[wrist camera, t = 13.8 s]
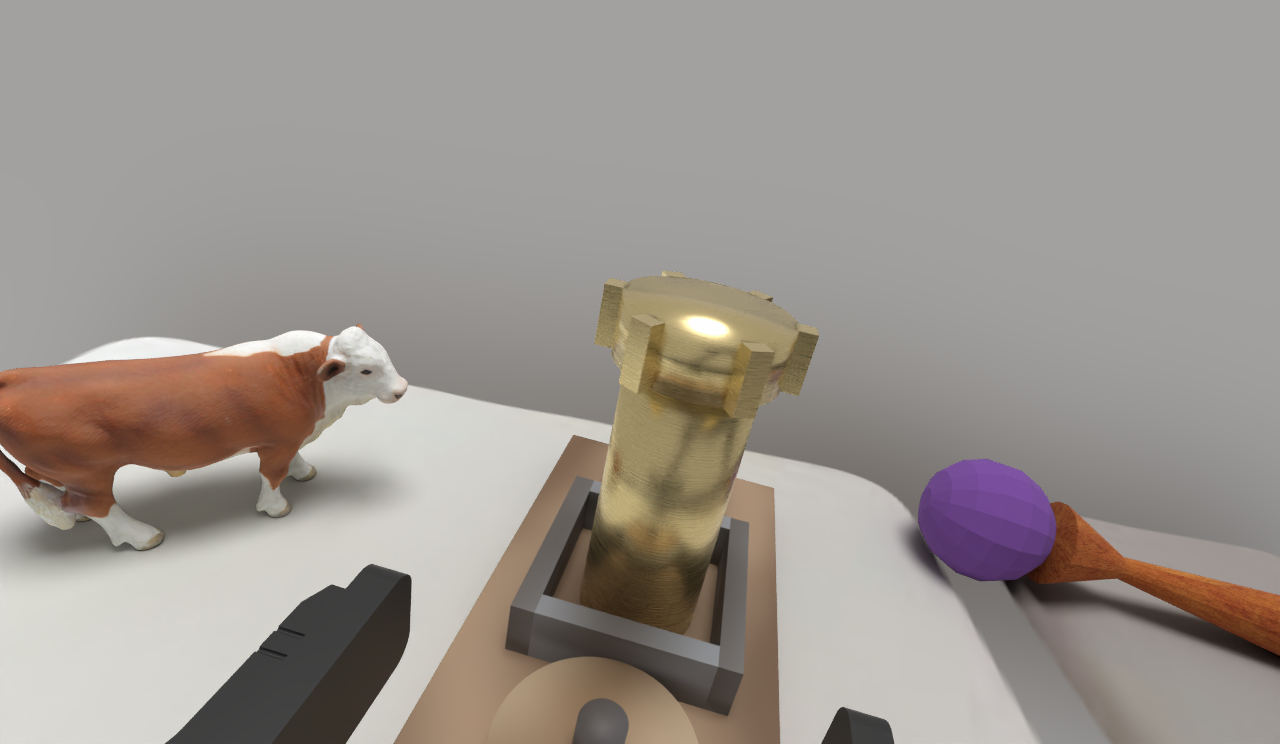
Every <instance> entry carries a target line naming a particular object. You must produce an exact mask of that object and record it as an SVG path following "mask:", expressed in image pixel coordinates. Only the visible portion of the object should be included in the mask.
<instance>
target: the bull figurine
mask: <svg viewBox="0 0 1280 744" xmlns="http://www.w3.org/2000/svg"><path fill="white" fill-rule="evenodd" d="M407 386H408V383H407V381H406V380H405V379H404V378H402V377H400V376H399V375H398V373H397V372H396V370H395V369H394V367H393V365H392V363H391V361H390V358H389V357H388V354H387V352H386V351H385V349H384V348H383V347H382V346H381V345H380V344H379V343H378V342H376V341H375V340H373V339H372V338H371V337H369V336H368V335H367V334H366V333H365V332H364V329H363V327H362V325H361V324H357V326H356V327H350V328H348V329H346V330H344V331H342V332H341V334H340V335H338V336H326V335H322V334H320V333H316V332H311V331H291V332H287V333H285V334H282V335H280V336H277V337H275V338H272V339H269V340H262V341H252V342H246V343H240V344H237V345H234V346H231V347H227V348H223V349H219V350H215V351H210V352H204V353H198V354H190V355H182V356H173V357H163V358H151V359H133V360H106V361H97V362H87V363H76V364H65V365H56V366H47V367H32V368H16V369H12V370H6V371H2V372H0V444H1V445H2V446H3V447H4V449H5V450H6V451H8V452H9V453H10V454H11V455H12V456H13V457H14V458H15V459H16V460H18V461H19V462H20V463H22V464H23V465H25V466H26V468H25V473H26V474H25V473H23V472H22V471H21V470H20V469H19V468H18V466H17V465H16V464H15V463H14V462H12V461H11V460H10V459H8V458H7V457H6V456H5V455H4V454H3V453H2V451H1V450H0V469H1V470H2V471H3V472H4V473H5V474H7V475H8V476H9V477H10V478H11V480H12V481H13V482H14V483H15V484H16V486H17V487H18V489H19V491H20V492H21V494H22V496H23V498H24V499H25V501H26V502H27V503H28V505H29V506H30V507H31V508H32V509H33V510H34V511H35V512H36V513H37V514H38V515H39V516H40V517H41V518H42V519H43V520H44V521H45V522H46V523H47V524H49V525H51V526H55V527H57V528H59V529H61V530H67V529H70V528H72V527H73V526H74V525H75V522H76V521H86V520H89V519H92V520H94V521H95V522H97V523H98V524H99V525H101V526H102V527H103V529H104V530H105V531H106V533H107V534H108V535H109V536H110V538H111V542H112V543H113V545H114V546H116V547H117V546H119V545H120V544H122V543H123V542H127V543H129V544H131V545H132V546H133V547H134V548H135V549H137V550H145V549H150V548H152V547H155V546H157V545H159V544H160V543H161V542H162V541H163V539H164V535H165V533H164V532H163V531H161V530H159V529H157V528H155V527H153V526H152V525H149V524H147V523H144V522H141V521H139V520H136V519H134V518H132V517H131V516H129V515H128V514H126V513H124V512H123V510H122V509H121V508H120V507H119V505H118V504H117V502H116V501H115V499H114V496H113V492H112V487H113V481H114V475H115V472H116V471H117V470H118V469H119V468H120V467H122V466H125V465H128V464H136V465H140V466H144V467H148V468H152V469H157V470H163V471H165V472H167V473H168V474H169V475H170V476H171V477H178V476H181V475H183V474H185V472H186V470H192V469H197V468H202V467H205V466H208V465H211V464H213V463H216V462H219V461H222V460H225V459H228V458H231V457H234V456H237V455H241V454H245V453H252V452H257V453H258V456H259V458H260V469H259V472H260V475H261V478H262V488H261V492H260V495H259V498H258V502H257V504H256V509H257V511H259V512H260V511H263V510H265V511H266V512H267V513H268V514H269V515H270V516H271V517H282V516H284V515H286V514H288V513H289V512H290V511H291V509H292V507H291V505H290V504H289V502H288V501H287V500H286V499H285V498H284V497H283V496H282V495H281V493H280V489H279V486H280V483H281V482H282V481H283V480H284V478H285V477H287V476H289V475H291V476H294V477H295V479H297V480H300V481H304V480H308V479H311V478H313V477H314V476H315V475H316V469H315V468H314V467H313V466H312V465H310V464H308V463H307V462H305V461H304V460H303V458H302V457H301V456H300V454H299V453H298V450H300V449H301V448H303V447H304V446H305V445H306V444H308V443H310V442H313V441H314V440H316V439H317V438H318V437H319V435H320V434H321V433H322V431H323V430H324V429H326V428H327V427H329V426H331V425H332V424H333V423H334V422H335V421H336V420H338V419H339V418H341V417H342V415H343V413H344V411H345V409H346V407H347V406H349V405H362V404H365V403H367V402H368V401H370V400H371V399H373V398H376V397H377V398H378V399H379V400H380V401H381V402H383V403H394V402H397V401H398V400H399V399H400V398H401V397H402V396H403V395H404V394H405V392H406V390H407Z"/></svg>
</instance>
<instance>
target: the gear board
mask: <svg viewBox="0 0 1280 744" xmlns="http://www.w3.org/2000/svg"><path fill="white" fill-rule="evenodd" d="M608 447H609V444H606V443H602V442H598V441H595V440H591V439H587V438H583V437H580V436H576V435H573V436H572V438H571V440H570V442H569V443H568V445H567V447H566V448H565V450H564V452H563V454H562V455H561V457H560V459H559V460H558V462H557V464H556V466H555V467H554V469H553V471H552V472H551V474H550V476H549V478H548V479H547V481H546V483H545V484H544V486H543V488H542V490H541V491H540V493H539V495H538V496H537V498H536V500H535V502H534V503H533V505H532V507H531V508H530V510H529V512H528V514H527V515H526V517H525V519H524V521H523V522H522V524H521V526H520V527H519V529H518V531H517V533H516V534H515V536H514V538H513V539H512V541H511V543H510V545H509V546H508V548H507V550H506V551H505V553H504V555H503V557H502V558H501V560H500V562H499V563H498V565H497V567H496V569H495V570H494V572H493V574H492V575H491V577H490V579H489V581H488V582H487V584H486V586H485V587H484V589H483V591H482V593H481V594H480V596H479V598H478V599H477V601H476V603H475V605H474V606H473V608H472V610H471V611H470V613H469V615H468V617H467V618H466V620H465V622H464V623H463V625H462V627H461V629H460V630H459V632H458V634H457V635H456V637H455V639H454V641H453V642H452V644H451V646H450V647H449V649H448V651H447V653H446V654H445V656H444V658H443V659H442V661H441V663H440V665H439V666H438V668H437V670H436V671H435V673H434V675H433V677H432V678H431V680H430V682H429V683H428V685H427V687H426V689H425V690H424V692H423V694H422V695H421V697H420V699H419V701H418V702H417V704H416V706H415V708H414V709H413V711H412V713H411V714H410V716H409V718H408V720H407V721H406V723H405V725H404V726H403V728H402V730H401V732H400V733H399V735H398V737H397V738H396V740H395V742H394V744H780V722H779V679H778V637H777V594H776V552H775V509H774V488H771V487H768V486H764V485H760V484H756V483H753V482H749V481H745V480H741V479H737V478H736V479H735V482H734V486H733V489H732V492H731V495H730V498H729V502H728V505H727V508H726V511H725V515H724V518H723V521H722V524H721V528H720V531H719V534H718V537H717V541H716V544H715V547H714V550H713V553H712V557H711V560H710V563H709V566H708V570H707V573H706V576H705V579H704V583H703V586H702V589H701V592H700V596H699V599H698V602H697V605H696V608H695V612H694V615H693V618H692V621H691V624H690V626H689V628H688V629H687V631H686V632H685V633H684V634H683V635H680V634H676V633H673V632H670V631H666V630H663V629H659V628H656V627H652V626H649V625H646V624H642V623H639V622H635V621H632V620H629V619H625V618H622V617H618V616H615V615H611V614H608V613H605V612H601V611H598V610H594V609H591V608H588V607H584V606H581V602H580V588H581V583H582V578H583V573H584V568H585V563H586V558H587V553H588V548H589V543H590V538H591V533H592V528H593V523H594V518H595V513H596V508H597V503H598V497H599V492H600V487H601V482H602V477H603V472H604V467H605V462H606V457H607V452H608Z"/></svg>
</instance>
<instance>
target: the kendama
mask: <svg viewBox="0 0 1280 744" xmlns="http://www.w3.org/2000/svg"><path fill="white" fill-rule="evenodd" d="M918 523H919V526H920V530H921V532H922V534H923V536H924V538H925V540H926V543H927V545H928V547H929V549H930V550H931V551H932V552H933V553H934V554H935V555H936V556H938V557H939V558H940V559H941V560H942V561H943V562H944V563H946V564H947V565H948V566H949V567H950V568H952V569H953V570H954V571H955V572H956V573H959V574H962V575H964V576H967V577H970V578H973V579H975V580H978V581H998V580H1017V579H1018V578H1020V577H1022V576H1023V575H1025V574H1027V575H1028V577H1029V578H1030V579H1031V580H1033V581H1034V582H1036V583H1037V584H1046V583H1061V582H1075V581H1089V580H1102V579H1116V578H1117V579H1119V580H1121V581H1123V582H1125V583H1128V584H1130V585H1132V586H1134V587H1136V588H1138V589H1140V590H1142V591H1144V592H1146V593H1149V594H1151V595H1153V596H1155V597H1157V598H1159V599H1161V600H1163V601H1165V602H1168V603H1170V604H1172V605H1174V606H1176V607H1178V608H1180V609H1182V610H1184V611H1186V612H1189V613H1191V614H1193V615H1195V616H1197V617H1199V618H1201V619H1203V620H1205V621H1207V622H1210V623H1212V624H1214V625H1216V626H1218V627H1220V628H1222V629H1224V630H1226V631H1228V632H1231V633H1233V634H1235V635H1237V636H1239V637H1241V638H1243V639H1245V640H1247V641H1249V642H1252V643H1254V644H1256V645H1258V646H1260V647H1262V648H1264V649H1266V650H1268V651H1270V652H1273V653H1275V654H1277V655H1279V656H1280V595H1276V594H1272V593H1268V592H1264V591H1259V590H1255V589H1251V588H1247V587H1243V586H1239V585H1235V584H1231V583H1227V582H1223V581H1219V580H1214V579H1210V578H1206V577H1202V576H1198V575H1194V574H1190V573H1186V572H1182V571H1178V570H1173V569H1169V568H1165V567H1161V566H1157V565H1153V564H1149V563H1145V562H1141V561H1137V560H1133V559H1128V558H1124V557H1123V556H1122V555H1121V554H1120V553H1119V552H1118V551H1116V550H1115V549H1114V548H1113V547H1112V546H1111V545H1110V544H1109V543H1108V542H1107V541H1106V540H1105V539H1104V538H1103V537H1102V536H1100V535H1099V534H1098V533H1097V532H1096V531H1095V530H1094V529H1093V528H1092V527H1091V526H1090V525H1089V524H1088V523H1087V522H1086V521H1084V520H1083V519H1082V518H1081V517H1080V516H1079V515H1078V514H1077V513H1076V512H1075V511H1074V510H1073V509H1071V508H1070V507H1069V506H1068V505H1066V504H1064V503H1061V502H1055V503H1049V500H1048V498H1047V496H1046V495H1045V493H1044V492H1043V490H1042V489H1041V488H1040V487H1039V486H1038V485H1037V484H1036V483H1035V482H1034V481H1033V480H1032V479H1030V478H1029V477H1028V476H1027V475H1026V474H1025V473H1024V472H1022V471H1020V470H1018V469H1015V468H1012V467H1009V466H1006V465H1003V464H1000V463H997V462H994V461H991V460H989V459H978V460H963V461H961V462H958V463H955V464H953V465H951V466H949V467H947V468H945V469H943V470H941V471H939V472H937V473H936V474H935V475H934V476H933V477H932V478H931V479H930V481H929V483H928V484H927V486H926V488H925V490H924V492H923V494H922V496H921V500H920V505H919V511H918Z"/></svg>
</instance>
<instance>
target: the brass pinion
mask: <svg viewBox="0 0 1280 744" xmlns="http://www.w3.org/2000/svg"><path fill="white" fill-rule="evenodd" d="M772 300H773V297H771V296H769V295H766V294H764V293H761V292H758V291H751V292H745V291H742V290H739V289H736V288H732V287H729V286H725V285H721V284H718V283H713V282H709V281H703V280H698V279H692V278H687V277H686V276H684V275H683V274H682V273H680V272H669V271H662V276H650V277H642V278H637V279H634V280H631V281H629V282H625V281H621V280H617V279H613V278H610V279H609V280H608V281H607V282H606V283H605V285H604V291H603V298H602V302H601V308H600V315H599V320H598V326H597V331H596V337H595V343H594V344H597V345H601V346H605V347H608V348H612V351H611V353H612V357H613V360H614V362H615V363H616V365H617V366H618V367H619V368H620V369H621V374H620V380H619V384H621V387H620V392H619V397H618V402H617V407H616V412H615V417H614V422H613V427H612V432H611V437H610V442H609V447H608V452H607V457H606V462H605V467H604V472H603V477H602V482H601V487H600V492H599V497H598V503H597V508H596V513H595V518H594V523H593V528H592V533H591V538H590V543H589V548H588V553H587V558H586V563H585V568H584V573H583V578H582V583H581V588H580V602H581V606H584V607H588V608H591V609H594V610H598V611H601V612H605V613H608V614H611V615H615V616H618V617H622V618H625V619H629V620H632V621H635V622H639V623H642V624H646V625H649V626H652V627H656V628H659V629H663V630H666V631H670V632H673V633H676V634H680V635H683V634H684V633H685V632H686V631H687V629H688V628H689V626H690V624H691V621H692V618H693V615H694V612H695V608H696V605H697V602H698V599H699V596H700V592H701V589H702V586H703V583H704V579H705V576H706V573H707V570H708V566H709V563H710V560H711V557H712V553H713V550H714V547H715V544H716V541H717V537H718V534H719V531H720V528H721V524H722V521H723V518H724V515H725V511H726V508H727V505H728V502H729V498H730V495H731V492H732V489H733V486H734V482H735V479H736V476H737V473H738V469H739V466H740V463H741V460H742V456H743V453H744V450H745V447H746V443H747V440H748V437H749V434H750V430H751V427H752V424H753V421H754V419H755V416H756V413H757V410H758V406H760V405H764V404H766V403H769V402H771V401H772V400H774V399H775V398H776V397H777V396H778V394H779V393H780V391H781V392H785V393H789V394H793V395H797V396H798V395H799V393H800V390H801V388H802V385H803V382H804V379H805V376H806V372H807V370H808V367H809V364H810V361H811V358H812V355H813V352H814V349H815V346H816V343H817V340H818V337H819V334H818V330H817V328H814V327H810V326H806V325H802V324H798V322H797V321H796V320H795V318H794V317H792V315H790V314H789V313H788V312H787V311H785V310H784V309H782V308H781V307H779V306H777V305H775V304H773V303H772Z"/></svg>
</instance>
